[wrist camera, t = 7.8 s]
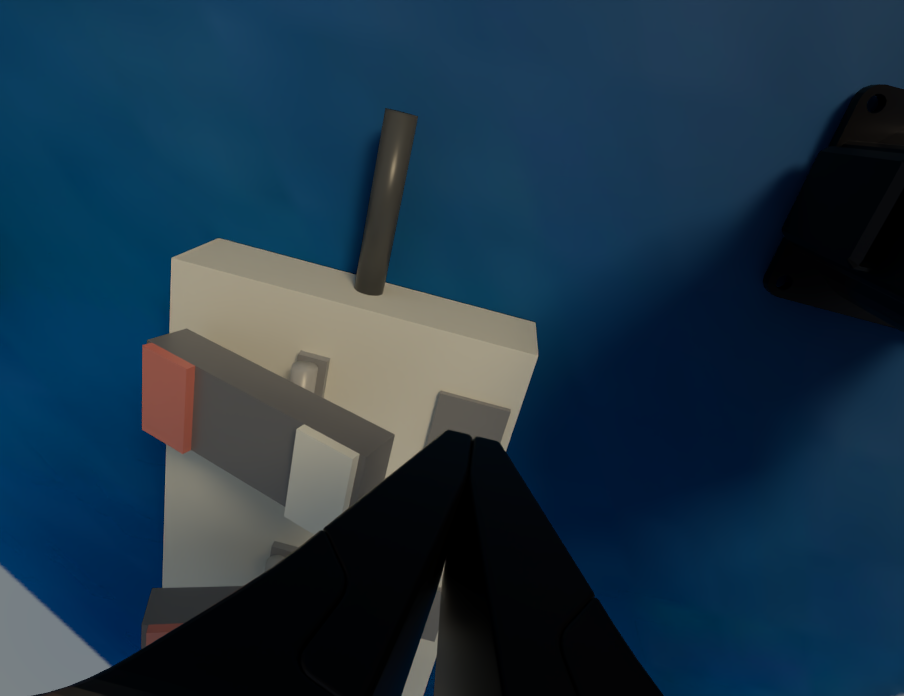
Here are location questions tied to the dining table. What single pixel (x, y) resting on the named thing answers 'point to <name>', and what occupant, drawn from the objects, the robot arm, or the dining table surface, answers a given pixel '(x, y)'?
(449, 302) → the panel
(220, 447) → the rocker
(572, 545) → the dining table surface
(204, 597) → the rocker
